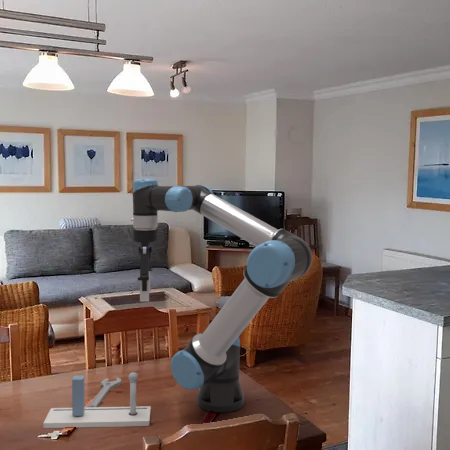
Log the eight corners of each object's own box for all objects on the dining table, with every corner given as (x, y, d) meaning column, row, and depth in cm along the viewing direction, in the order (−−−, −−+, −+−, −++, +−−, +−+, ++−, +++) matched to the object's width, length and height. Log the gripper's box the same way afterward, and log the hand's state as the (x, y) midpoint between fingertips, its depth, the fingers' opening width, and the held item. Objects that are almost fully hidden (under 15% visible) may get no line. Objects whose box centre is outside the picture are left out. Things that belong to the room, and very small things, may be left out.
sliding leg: (84, 411, 165) (84, 375, 164) (82, 415, 162) (82, 379, 161) (74, 411, 165) (74, 375, 164) (72, 415, 162) (72, 379, 161)
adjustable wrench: (93, 413, 169) (93, 408, 169) (74, 411, 170) (74, 406, 170) (123, 382, 194) (123, 377, 193) (106, 381, 195) (105, 376, 194)
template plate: (150, 410, 170) (151, 366, 169) (149, 425, 161) (149, 378, 159) (51, 412, 168) (50, 367, 166) (43, 428, 158) (42, 380, 156)
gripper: (135, 224, 183) (135, 287, 185) (130, 233, 159) (130, 305, 161) (157, 224, 184) (157, 287, 186) (156, 233, 159) (156, 305, 161)
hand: (145, 296), depth 173 cm, fingers open, 13 cm apart
